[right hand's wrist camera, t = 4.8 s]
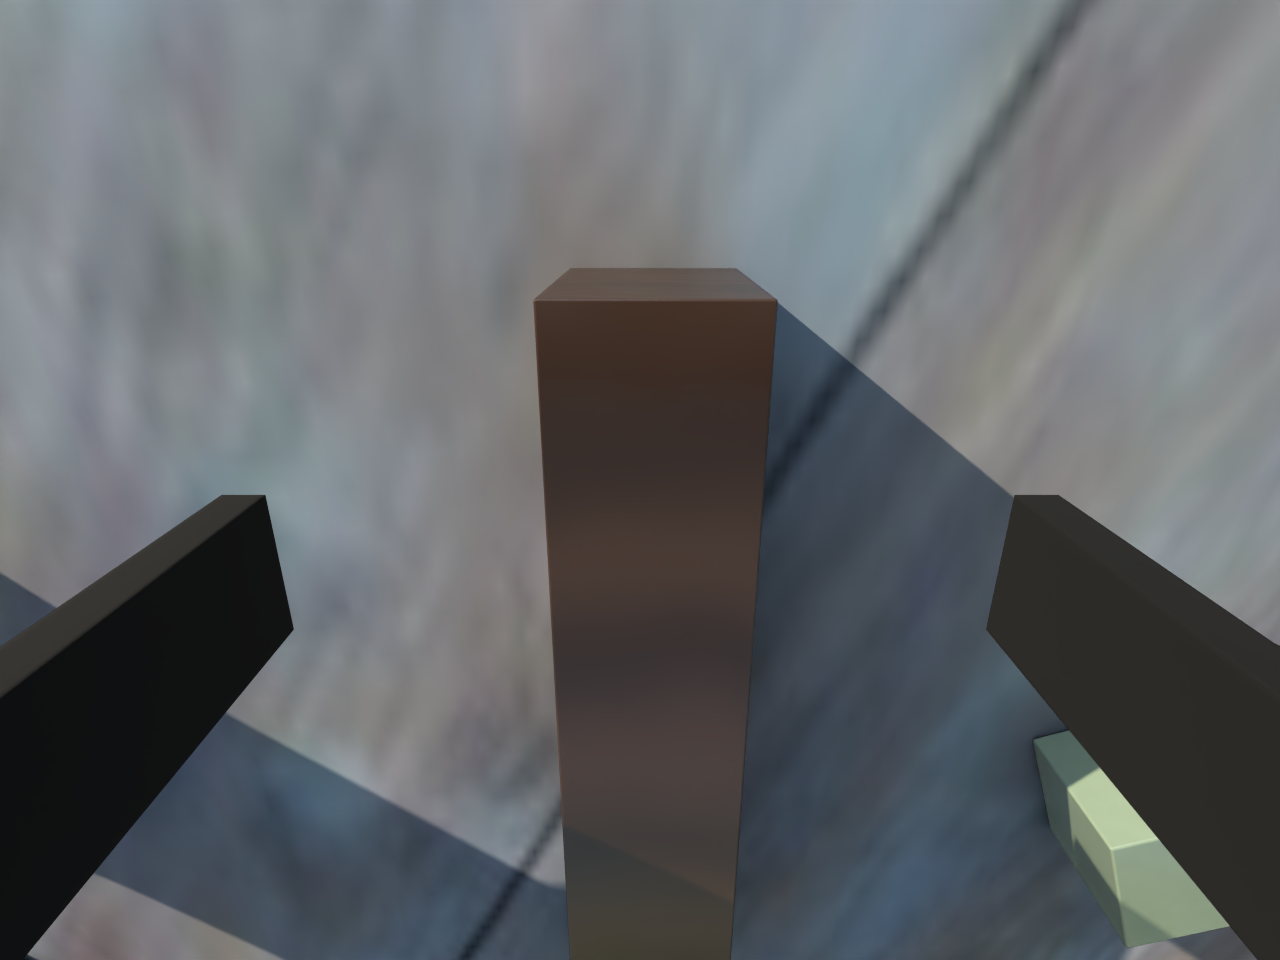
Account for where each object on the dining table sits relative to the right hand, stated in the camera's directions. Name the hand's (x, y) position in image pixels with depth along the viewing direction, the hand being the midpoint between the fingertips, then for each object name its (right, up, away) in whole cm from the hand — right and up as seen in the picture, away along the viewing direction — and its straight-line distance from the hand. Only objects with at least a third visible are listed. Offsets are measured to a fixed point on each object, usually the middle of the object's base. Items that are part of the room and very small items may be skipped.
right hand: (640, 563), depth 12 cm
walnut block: (0, -6, +14) cm, 15 cm away
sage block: (+18, -10, +15) cm, 26 cm away
